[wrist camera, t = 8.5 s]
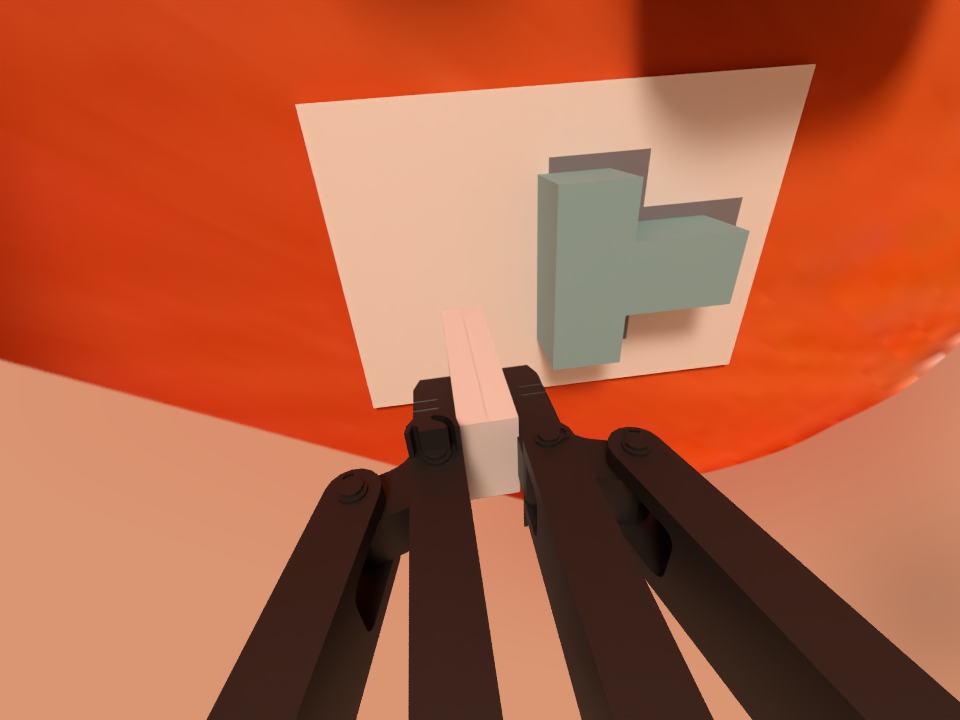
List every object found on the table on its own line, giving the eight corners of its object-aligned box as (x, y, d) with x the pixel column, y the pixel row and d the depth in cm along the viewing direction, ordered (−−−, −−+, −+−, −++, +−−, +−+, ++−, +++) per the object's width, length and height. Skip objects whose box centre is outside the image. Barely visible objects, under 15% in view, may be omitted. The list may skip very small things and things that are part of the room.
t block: (537, 174, 22) (558, 184, 18) (715, 158, 22) (767, 165, 19) (536, 338, 27) (552, 370, 24) (681, 321, 28) (717, 350, 24)
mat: (298, 104, 19) (295, 104, 19) (808, 64, 21) (816, 63, 21) (374, 404, 29) (373, 408, 28) (724, 360, 30) (728, 364, 30)
